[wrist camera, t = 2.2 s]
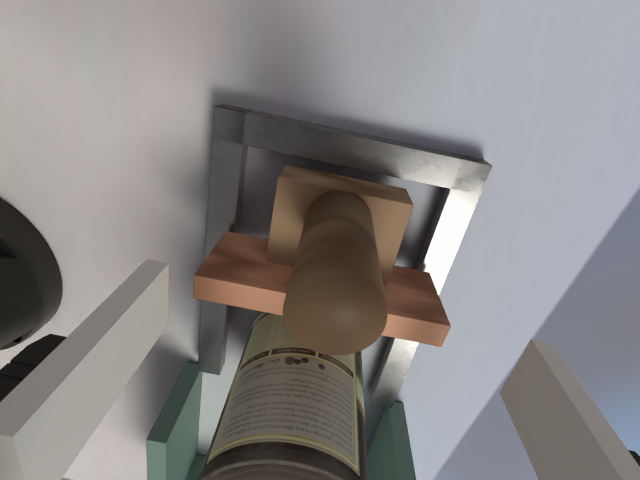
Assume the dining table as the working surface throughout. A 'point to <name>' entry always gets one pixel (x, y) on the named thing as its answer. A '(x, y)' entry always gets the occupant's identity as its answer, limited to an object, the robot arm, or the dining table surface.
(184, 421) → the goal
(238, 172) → the track
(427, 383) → the dining table surface
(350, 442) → the coffee can
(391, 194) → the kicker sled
